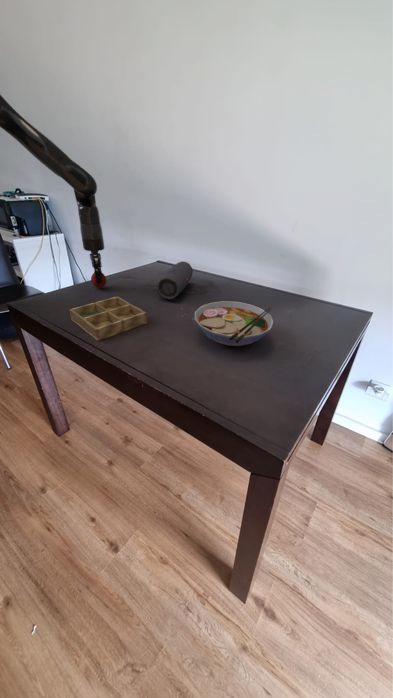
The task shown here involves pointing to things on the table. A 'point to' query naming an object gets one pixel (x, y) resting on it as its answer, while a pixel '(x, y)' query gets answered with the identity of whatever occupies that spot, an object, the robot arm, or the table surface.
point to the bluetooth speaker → (175, 280)
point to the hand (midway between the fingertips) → (98, 280)
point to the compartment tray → (108, 317)
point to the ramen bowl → (233, 322)
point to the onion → (98, 285)
